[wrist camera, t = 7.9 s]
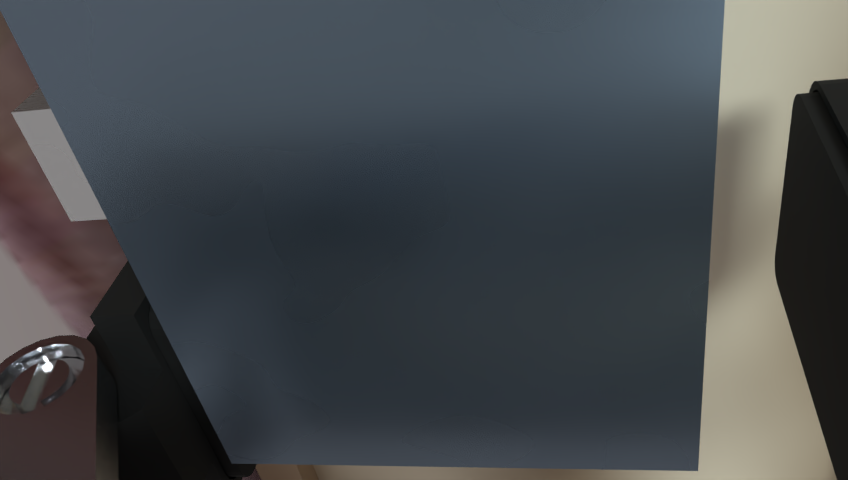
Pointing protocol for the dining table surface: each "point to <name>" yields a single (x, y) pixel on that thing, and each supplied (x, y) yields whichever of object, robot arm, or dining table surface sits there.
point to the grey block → (409, 216)
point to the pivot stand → (57, 158)
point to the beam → (727, 269)
